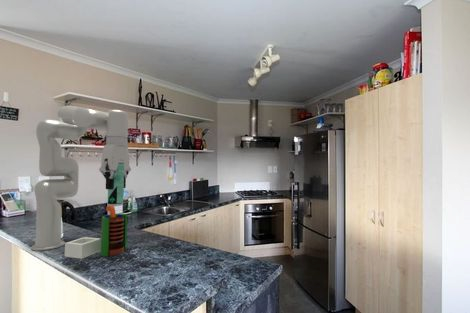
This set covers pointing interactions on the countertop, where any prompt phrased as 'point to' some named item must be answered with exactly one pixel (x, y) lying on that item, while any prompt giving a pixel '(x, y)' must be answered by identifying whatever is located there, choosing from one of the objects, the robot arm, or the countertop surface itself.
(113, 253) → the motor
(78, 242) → the square frame
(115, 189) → the spray can
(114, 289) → the countertop surface
